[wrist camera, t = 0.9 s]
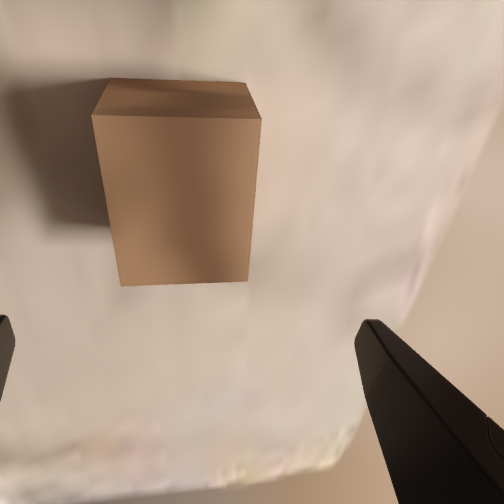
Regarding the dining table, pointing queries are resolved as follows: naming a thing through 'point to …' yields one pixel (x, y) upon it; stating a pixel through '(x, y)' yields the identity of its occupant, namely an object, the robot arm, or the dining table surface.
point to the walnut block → (178, 178)
